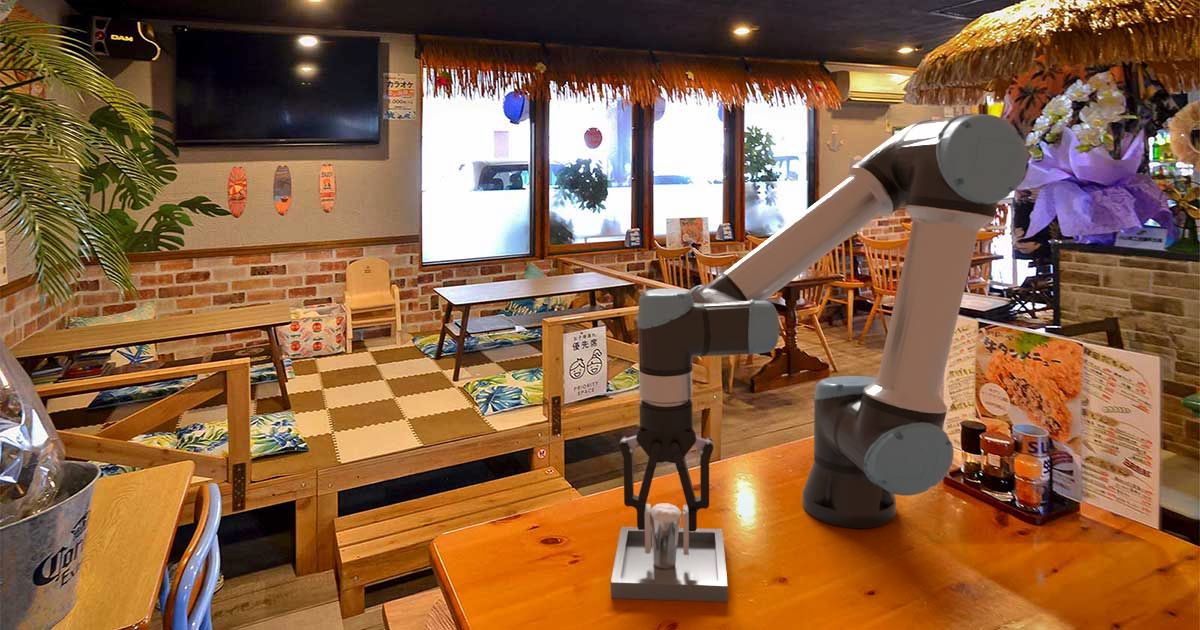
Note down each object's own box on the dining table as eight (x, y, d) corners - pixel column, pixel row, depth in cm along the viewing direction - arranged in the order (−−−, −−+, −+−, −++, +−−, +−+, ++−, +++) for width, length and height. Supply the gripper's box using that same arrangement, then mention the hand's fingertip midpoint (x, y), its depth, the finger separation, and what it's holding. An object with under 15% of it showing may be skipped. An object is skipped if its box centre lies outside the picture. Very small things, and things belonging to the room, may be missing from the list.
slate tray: (722, 542, 113) (722, 529, 113) (727, 602, 98) (727, 586, 97) (621, 540, 115) (621, 526, 115) (611, 598, 100) (610, 582, 99)
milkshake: (683, 573, 103) (686, 509, 101) (646, 569, 104) (648, 506, 103) (686, 557, 108) (688, 496, 106) (650, 553, 109) (652, 492, 107)
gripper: (728, 391, 104) (727, 539, 108) (605, 390, 106) (609, 534, 110) (731, 407, 97) (730, 565, 101) (599, 406, 99) (604, 560, 103)
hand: (667, 549), depth 106 cm, fingers closed on milkshake, 5 cm apart
